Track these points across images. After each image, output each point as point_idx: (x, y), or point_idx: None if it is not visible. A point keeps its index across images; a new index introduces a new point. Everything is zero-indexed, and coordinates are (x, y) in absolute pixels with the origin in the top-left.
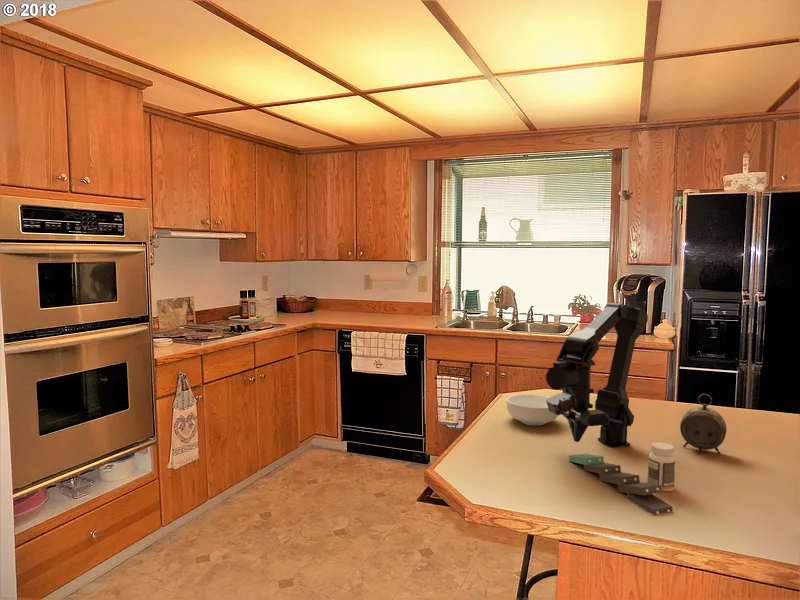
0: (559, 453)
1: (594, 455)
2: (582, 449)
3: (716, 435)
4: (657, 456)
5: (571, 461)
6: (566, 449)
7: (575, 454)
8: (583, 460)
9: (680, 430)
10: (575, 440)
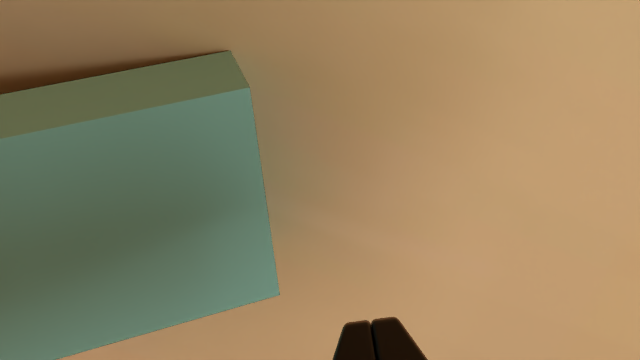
0: (530, 36)
1: (34, 345)
2: (541, 304)
3: None
4: None
5: (177, 62)
6: (611, 170)
7: (257, 178)
8: None
9: None
10: (346, 337)
